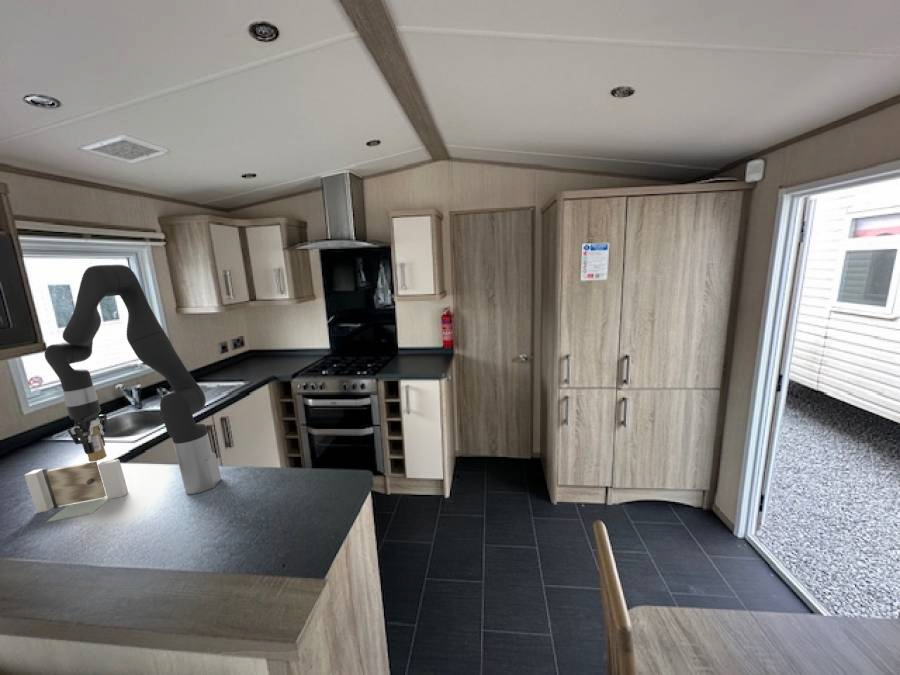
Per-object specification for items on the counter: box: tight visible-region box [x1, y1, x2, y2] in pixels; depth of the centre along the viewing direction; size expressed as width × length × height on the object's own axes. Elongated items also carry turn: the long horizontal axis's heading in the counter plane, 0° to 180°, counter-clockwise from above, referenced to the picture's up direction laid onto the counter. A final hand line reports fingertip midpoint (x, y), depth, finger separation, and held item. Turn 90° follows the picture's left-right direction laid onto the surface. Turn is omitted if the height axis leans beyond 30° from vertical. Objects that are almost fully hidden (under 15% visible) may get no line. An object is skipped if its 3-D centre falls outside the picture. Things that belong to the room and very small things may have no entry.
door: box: [42, 461, 107, 509], centre depth 118 cm, size 14×2×13 cm, turn 101°
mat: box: [46, 497, 112, 523], centre depth 116 cm, size 12×8×1 cm, turn 101°
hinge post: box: [24, 468, 54, 514], centre depth 117 cm, size 3×3×13 cm
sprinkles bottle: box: [82, 420, 107, 463], centre depth 124 cm, size 5×5×14 cm
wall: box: [97, 458, 129, 499], centre depth 121 cm, size 5×2×12 cm, turn 101°
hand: (95, 449), depth 125 cm, fingers closed on sprinkles bottle, 4 cm apart
